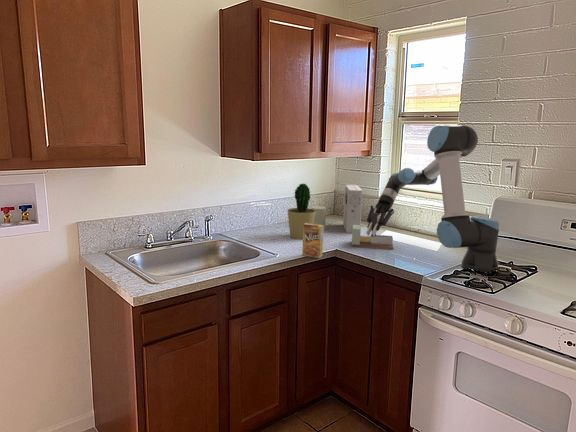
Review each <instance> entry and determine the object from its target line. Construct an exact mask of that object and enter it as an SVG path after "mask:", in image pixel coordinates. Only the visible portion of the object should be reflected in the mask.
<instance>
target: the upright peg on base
mask: <svg viewBox="0 0 576 432" xmlns="http://www.w3.org/2000/svg"><path fill="white" fill-rule="evenodd" d="M377 215H378V213H375V212H374V213H373V218H372V230H371V232H372V231H373V229H374V227H375V225H376V223H378V217H377ZM378 216H379V215H378ZM376 235H377V233H376V234H375V237H376ZM371 236H373V235H372V234H371V233H370V235H360V242H371Z"/></svg>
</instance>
